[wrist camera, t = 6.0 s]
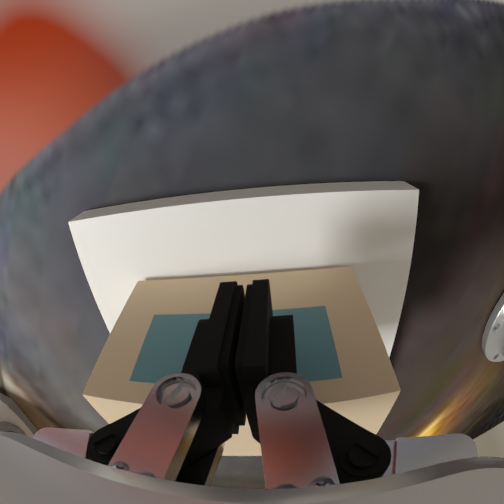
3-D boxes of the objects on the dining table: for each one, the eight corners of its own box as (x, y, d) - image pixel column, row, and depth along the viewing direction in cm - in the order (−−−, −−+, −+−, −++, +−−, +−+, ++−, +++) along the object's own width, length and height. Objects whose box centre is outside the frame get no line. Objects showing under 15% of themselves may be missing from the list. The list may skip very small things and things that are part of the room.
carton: (343, 331, 18) (350, 265, 15) (370, 443, 11) (400, 389, 8) (161, 340, 19) (137, 280, 16) (130, 445, 12) (82, 393, 9)
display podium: (403, 180, 15) (419, 189, 14) (370, 383, 23) (375, 399, 21) (84, 211, 17) (68, 222, 15) (156, 392, 25) (151, 409, 23)
